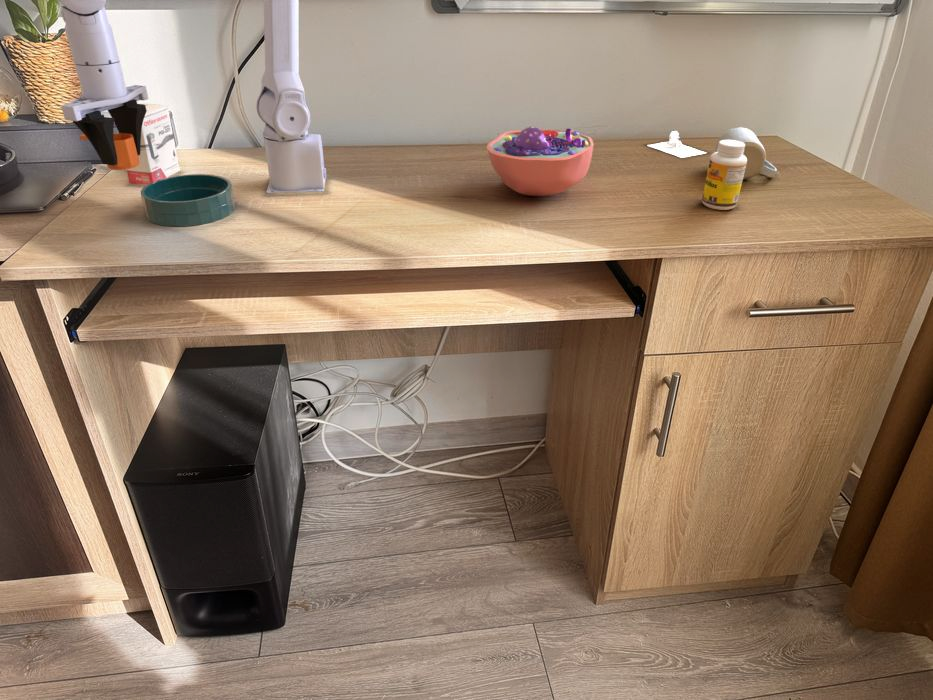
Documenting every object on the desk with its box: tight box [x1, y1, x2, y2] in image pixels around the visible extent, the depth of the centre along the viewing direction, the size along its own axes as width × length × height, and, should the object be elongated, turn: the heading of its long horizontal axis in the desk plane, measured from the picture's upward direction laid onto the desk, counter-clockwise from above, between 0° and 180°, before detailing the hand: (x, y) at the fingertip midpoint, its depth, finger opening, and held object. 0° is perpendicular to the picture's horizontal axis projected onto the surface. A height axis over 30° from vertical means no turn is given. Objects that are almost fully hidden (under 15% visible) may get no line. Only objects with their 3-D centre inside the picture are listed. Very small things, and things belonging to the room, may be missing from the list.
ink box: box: [117, 103, 181, 186], centre depth 117 cm, size 9×5×12 cm, turn 168°
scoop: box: [78, 132, 139, 171], centre depth 102 cm, size 8×4×4 cm, turn 73°
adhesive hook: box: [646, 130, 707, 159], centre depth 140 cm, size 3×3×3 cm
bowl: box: [140, 173, 236, 227], centre depth 105 cm, size 13×13×4 cm
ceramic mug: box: [714, 126, 778, 180], centre depth 124 cm, size 11×8×8 cm
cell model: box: [486, 126, 595, 197], centre depth 114 cm, size 17×20×11 cm
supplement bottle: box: [701, 140, 747, 211], centre depth 109 cm, size 6×6×10 cm
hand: (122, 159), depth 102 cm, fingers closed on scoop, 4 cm apart
